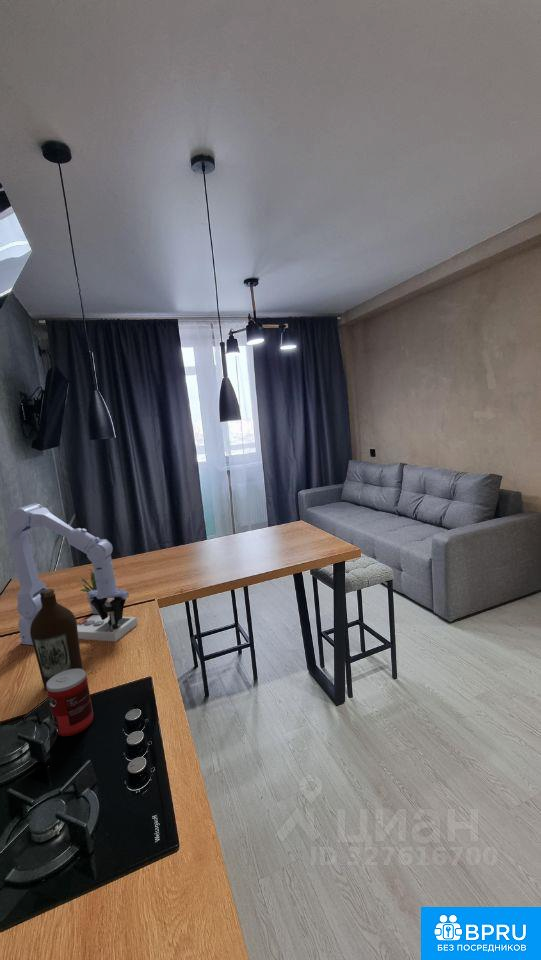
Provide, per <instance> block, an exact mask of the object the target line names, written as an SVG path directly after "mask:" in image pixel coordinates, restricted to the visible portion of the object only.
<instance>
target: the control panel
mask: <svg viewBox="0 0 541 960" xmlns="http://www.w3.org/2000/svg"><path fill="white" fill-rule="evenodd" d="M108 620H110V619H109V615H108V617H107V618H106V619H104V620H102V619H101V617H100V615H99V614H93V615H91V616H90V617H88V618H86V619H82V620H81V621H79V622H78V624H77V630H78V639H79V640H89V641H92V640H93V641H103V642H104V641H105V642H117V641H119V640H120V639H121V638H122V637H124V636H125V635H126V634H128V633H129V632H130V631H132V630H133V629H134V628H135V627H136V626H138V616H137V617H136V616H122V619H120V620H119V621H118V624H119V626H118V628H117V629H116V630H115V631H113V632H111V631H110V632H109V629H110V630H111V628H109V624H108Z"/></svg>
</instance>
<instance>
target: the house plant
mask: <svg viewBox="0 0 541 960" xmlns="http://www.w3.org/2000/svg"><path fill="white" fill-rule="evenodd" d="M115 569H116V567H115V568H114V567H113V570H115ZM89 572H90V573H89V574H90V582H91V584H92V585H90V583H89V582H88V581H87V580H85V579H84V578H82V577H80V576H76V575H75V576H74V577H75V578H78V579H80V581H81V582H82V583H84V584H82V586H83V587H84V588H82V589H80V591H81V592H82V593H87V592H89V591H91V590H97V586H96V580H95V575H94V570H92V569H90V570H89ZM93 599H94V598H93V597H92V598H88V596H87V602H88V603H89V606H90V609H91V611H92V614H93V615H99V613H98V611H97V610H96V608H95V607H94V606H93V605H92V604H91V601H92V600H93ZM107 600H109V598H107Z"/></svg>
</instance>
